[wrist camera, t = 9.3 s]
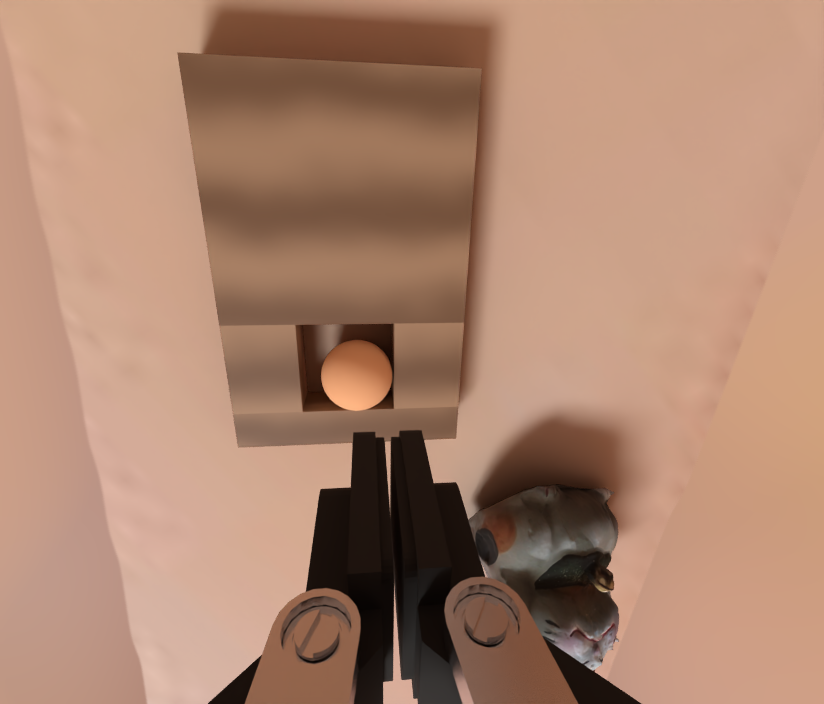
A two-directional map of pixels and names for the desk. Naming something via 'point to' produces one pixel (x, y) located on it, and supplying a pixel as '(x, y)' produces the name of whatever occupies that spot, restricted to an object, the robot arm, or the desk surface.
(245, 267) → the board
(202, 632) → the desk surface
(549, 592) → the lucky cat figurine
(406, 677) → the robot arm
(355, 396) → the ball
